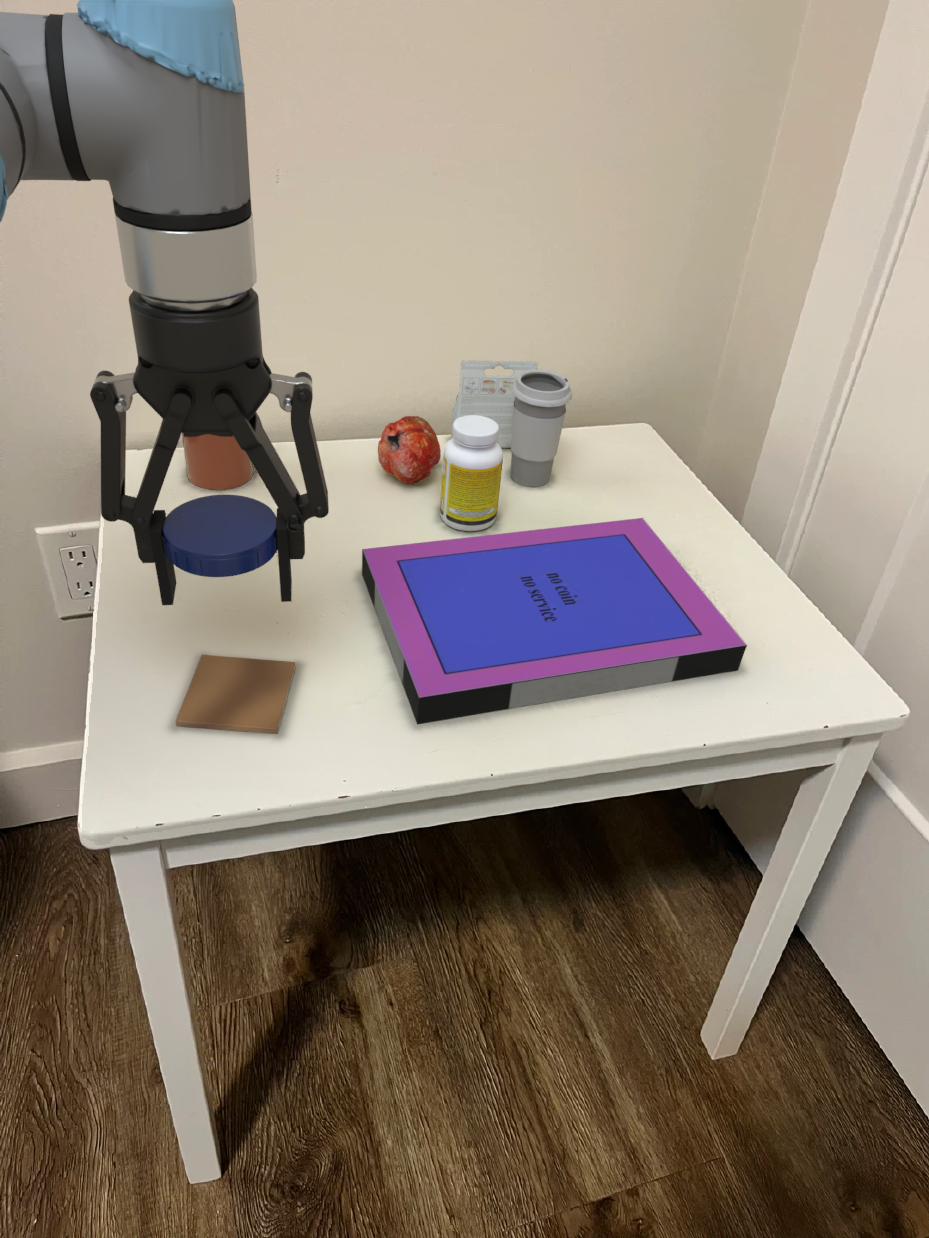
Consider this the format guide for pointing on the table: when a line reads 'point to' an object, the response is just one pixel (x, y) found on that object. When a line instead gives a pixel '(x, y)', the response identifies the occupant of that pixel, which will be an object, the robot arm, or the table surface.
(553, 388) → the cup
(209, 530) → the lid
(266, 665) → the cork mat
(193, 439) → the jar
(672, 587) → the book
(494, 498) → the pill bottle
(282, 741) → the table surface
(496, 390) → the ink box
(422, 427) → the pomegranate
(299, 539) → the robot arm
